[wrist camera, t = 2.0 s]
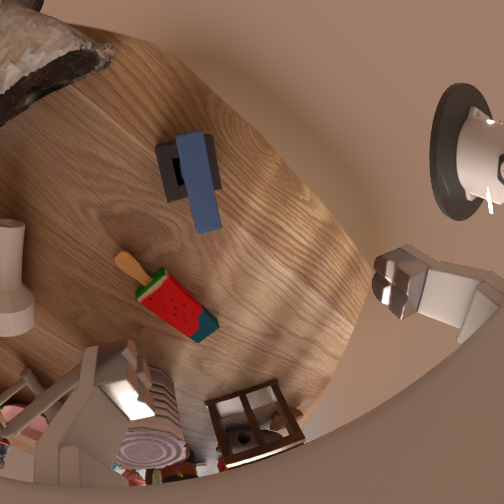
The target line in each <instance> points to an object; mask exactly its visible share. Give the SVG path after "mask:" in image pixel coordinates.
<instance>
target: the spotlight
mask: <svg viewBox="0 0 504 504" xmlns="http://www.w3.org/2000/svg"><path fill="white" fill-rule="evenodd" d="M24 232H25V223H23V222H21V221H18V220H14V219H10V218H0V336H1V337H11V336H18V335H21V334H23V333H26V332H27V331H29V330H30V329H31V328H32V327H33V326H34V323H35V298H34V295H33V293H32V292H31V291H30V290H29V289H28V288H27V287H26V286H25V285H24V284H23V283H22V257H23V243H24Z"/></svg>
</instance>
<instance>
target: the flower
mask: <svg viewBox="0 0 504 504" xmlns="http://www.w3.org/2000/svg"><path fill="white" fill-rule="evenodd" d="M122 476H124V477H125V478H126V479H128V484H129V487H134V486H141V485H144V484H146V482H145V480H144V479H143V478H142V477H141V476H140V474H139V473H138V472H136V471H134V470H127V471H124V473H122Z"/></svg>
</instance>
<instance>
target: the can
mask: <svg viewBox="0 0 504 504" xmlns="http://www.w3.org/2000/svg"><path fill="white" fill-rule="evenodd" d="M148 368H149V371H150V374H151V378H152V387H151V388H150V390H149V392H150V393H151V394H152V396H153V397H154V405H155V413H156V415H153V416H149V417H144V418H140V419H135V420H130V421H131V423H130V425H129V428H128V430H127V432H126V435H125V437H124V439H123V442H122V444H121V446H120V449H119V451H118V453H117V456H116V458H115V461H114V463H117V464H120V465H122V466H125V467H128V468H130V469H158V468H165V467H167V466H169V465H171V464H173V463H176V462H178V461H180V460H182V459H184V458H185V456H186V442H184V437H183V433H182V428H181V423H180V418H179V413H178V407H177V402H176V396H175V390H174V384H173V382H172V381H171V380H170V379H169V378H168V376H167V375H166V374H165V373H164V372H163V371H162V370H160V369H156V368H153V367H150V366H148Z"/></svg>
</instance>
